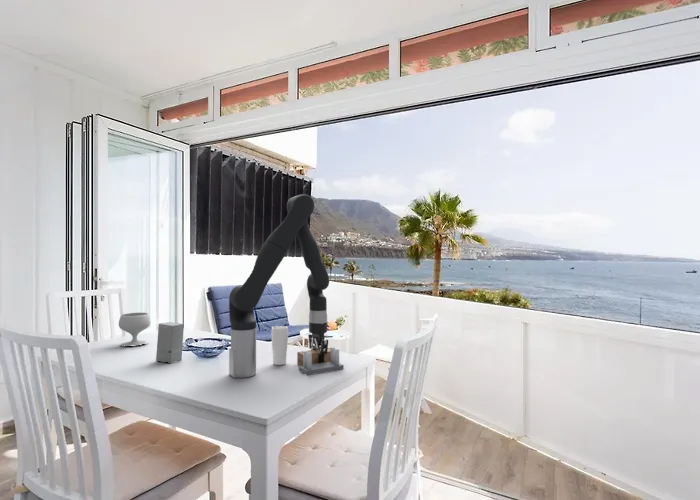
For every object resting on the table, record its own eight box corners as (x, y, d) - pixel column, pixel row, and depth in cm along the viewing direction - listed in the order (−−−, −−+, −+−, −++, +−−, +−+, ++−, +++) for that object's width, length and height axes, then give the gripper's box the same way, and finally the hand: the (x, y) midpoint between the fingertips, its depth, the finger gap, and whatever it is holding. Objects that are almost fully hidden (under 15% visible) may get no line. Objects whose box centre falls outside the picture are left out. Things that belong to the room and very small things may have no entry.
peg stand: (306, 374, 152) (306, 354, 152) (298, 370, 158) (298, 350, 158) (343, 368, 160) (343, 349, 160) (334, 364, 166) (335, 346, 166)
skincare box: (155, 361, 170) (155, 323, 170) (169, 357, 177) (169, 321, 177) (171, 363, 167) (171, 325, 167) (184, 359, 174) (184, 322, 174)
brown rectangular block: (302, 367, 162) (302, 354, 162) (297, 364, 167) (297, 352, 167) (338, 362, 170) (338, 350, 170) (331, 359, 175) (331, 347, 175)
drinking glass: (284, 366, 163) (284, 329, 163) (268, 365, 165) (268, 328, 165) (290, 362, 170) (290, 326, 170) (275, 361, 171) (275, 325, 171)
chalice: (130, 341, 210) (130, 312, 210) (156, 341, 208) (156, 312, 209) (111, 347, 196) (112, 316, 196) (139, 348, 195) (139, 316, 195)
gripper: (302, 319, 173) (302, 359, 173) (317, 324, 161) (317, 367, 160) (318, 317, 177) (318, 356, 177) (334, 322, 164) (334, 364, 164)
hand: (318, 361), depth 169 cm, fingers closed on brown rectangular block, 5 cm apart
